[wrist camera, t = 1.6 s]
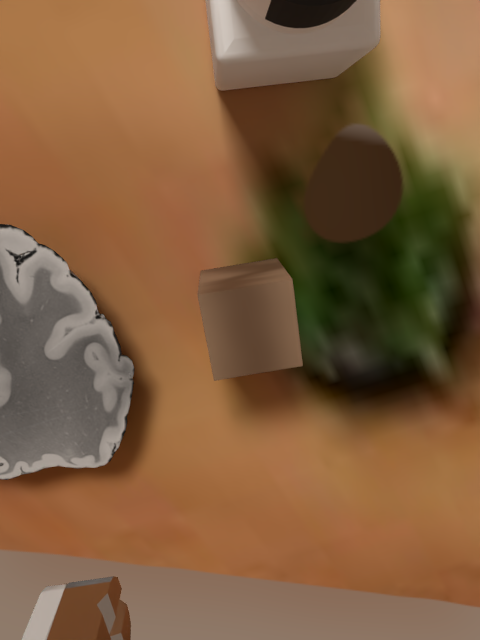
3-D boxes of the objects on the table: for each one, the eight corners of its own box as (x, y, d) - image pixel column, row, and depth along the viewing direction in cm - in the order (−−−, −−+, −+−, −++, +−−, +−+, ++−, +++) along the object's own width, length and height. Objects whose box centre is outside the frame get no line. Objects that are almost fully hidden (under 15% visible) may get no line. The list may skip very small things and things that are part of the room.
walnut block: (276, 258, 29) (292, 279, 23) (286, 329, 31) (302, 365, 25) (200, 270, 29) (197, 295, 23) (214, 341, 31) (214, 380, 25)
